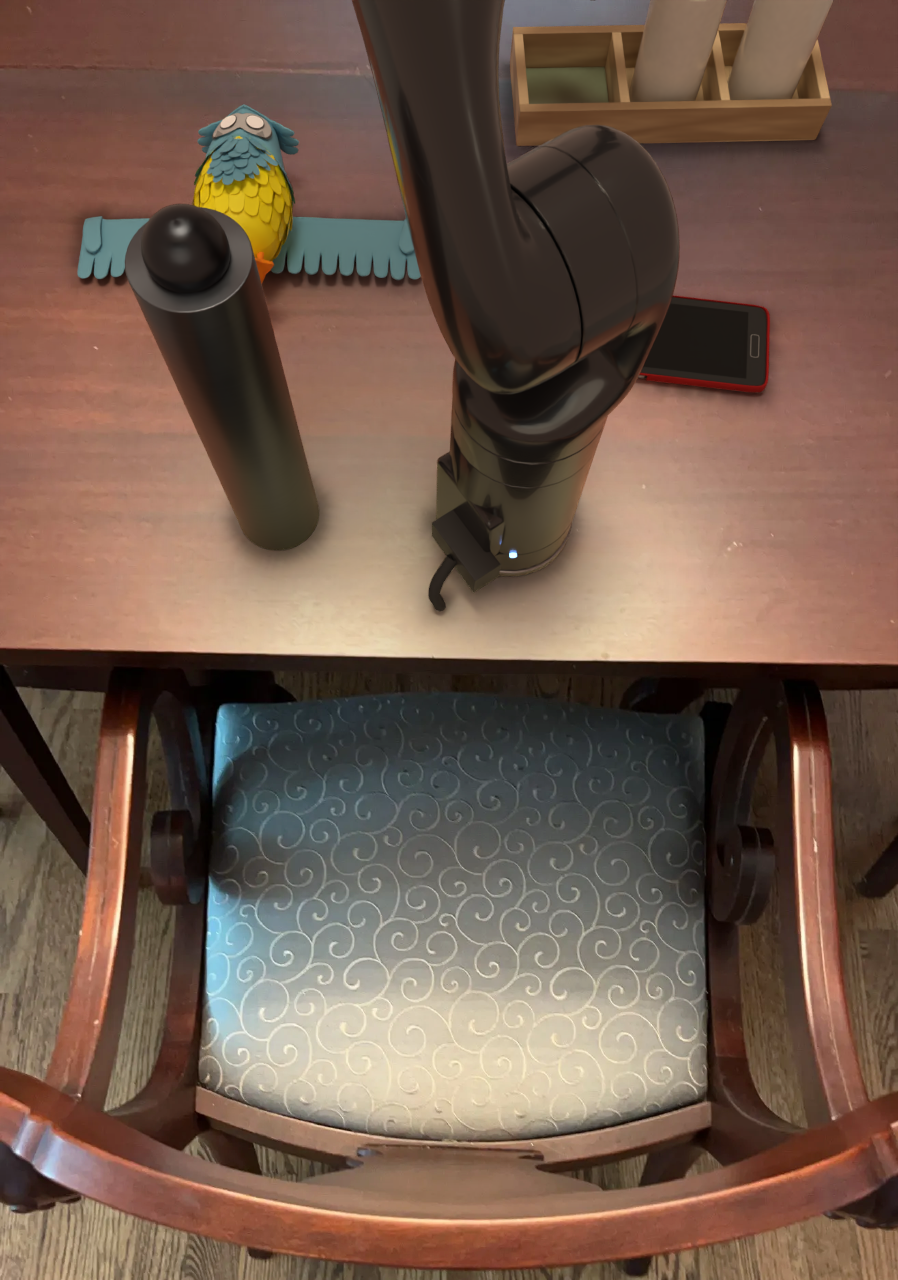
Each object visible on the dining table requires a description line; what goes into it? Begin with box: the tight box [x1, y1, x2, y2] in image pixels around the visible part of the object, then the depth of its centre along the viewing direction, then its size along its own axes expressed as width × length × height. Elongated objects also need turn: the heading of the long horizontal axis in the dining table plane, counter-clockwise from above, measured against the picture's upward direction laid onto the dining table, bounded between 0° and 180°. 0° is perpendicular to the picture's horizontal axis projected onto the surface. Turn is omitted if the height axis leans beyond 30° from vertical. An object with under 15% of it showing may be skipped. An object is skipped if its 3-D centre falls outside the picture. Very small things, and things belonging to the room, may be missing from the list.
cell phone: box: [637, 294, 771, 393], centre depth 76 cm, size 8×15×1 cm, turn 83°
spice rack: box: [509, 22, 833, 147], centre depth 82 cm, size 9×26×4 cm, turn 93°
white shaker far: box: [727, 0, 835, 100], centre depth 77 cm, size 6×6×13 cm
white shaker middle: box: [629, 0, 728, 102], centre depth 77 cm, size 6×6×13 cm
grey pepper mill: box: [124, 203, 320, 551], centre depth 57 cm, size 6×6×30 cm
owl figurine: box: [76, 103, 421, 284], centre depth 75 cm, size 28×9×15 cm
